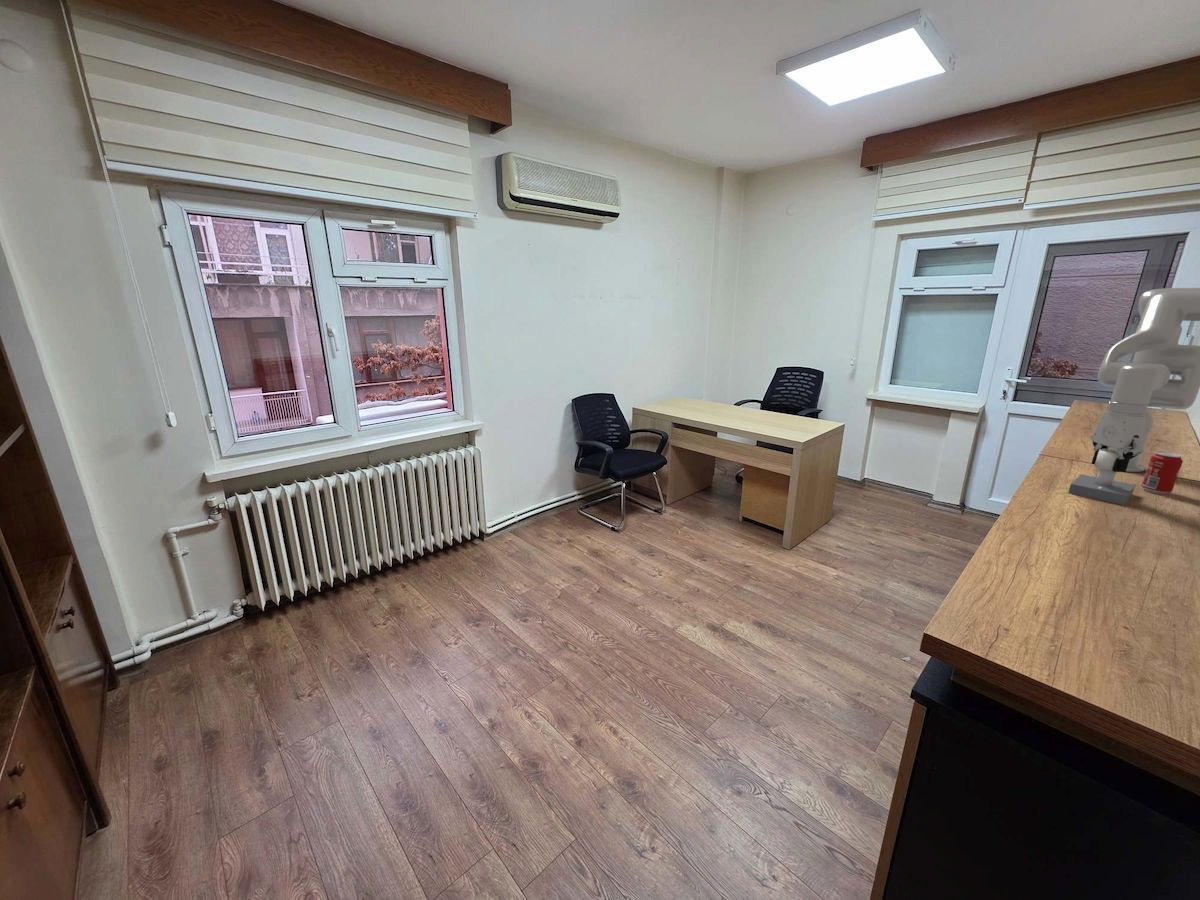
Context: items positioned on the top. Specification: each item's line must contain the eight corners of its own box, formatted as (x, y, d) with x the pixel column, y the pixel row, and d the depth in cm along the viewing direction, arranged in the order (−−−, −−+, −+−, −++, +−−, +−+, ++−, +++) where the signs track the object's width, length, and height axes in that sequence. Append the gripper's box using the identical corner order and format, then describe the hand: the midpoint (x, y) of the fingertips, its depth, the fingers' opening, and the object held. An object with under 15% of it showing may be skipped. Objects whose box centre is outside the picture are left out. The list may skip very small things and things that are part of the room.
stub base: (1078, 483, 155) (1085, 459, 153) (1132, 494, 146) (1140, 469, 143) (1068, 493, 147) (1075, 468, 144) (1124, 505, 138) (1133, 479, 135)
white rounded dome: (1095, 463, 148) (1100, 446, 146) (1123, 468, 144) (1129, 450, 142) (1093, 467, 144) (1098, 450, 143) (1122, 472, 140) (1128, 455, 138)
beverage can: (1177, 495, 145) (1191, 457, 141) (1156, 495, 145) (1169, 457, 142) (1154, 487, 151) (1167, 451, 147) (1134, 487, 151) (1146, 450, 148)
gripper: (1086, 402, 147) (1070, 458, 152) (1142, 414, 131) (1121, 477, 136) (1113, 403, 147) (1095, 459, 152) (1172, 415, 130) (1150, 478, 135)
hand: (1108, 467), depth 144 cm, fingers closed on white rounded dome, 6 cm apart
